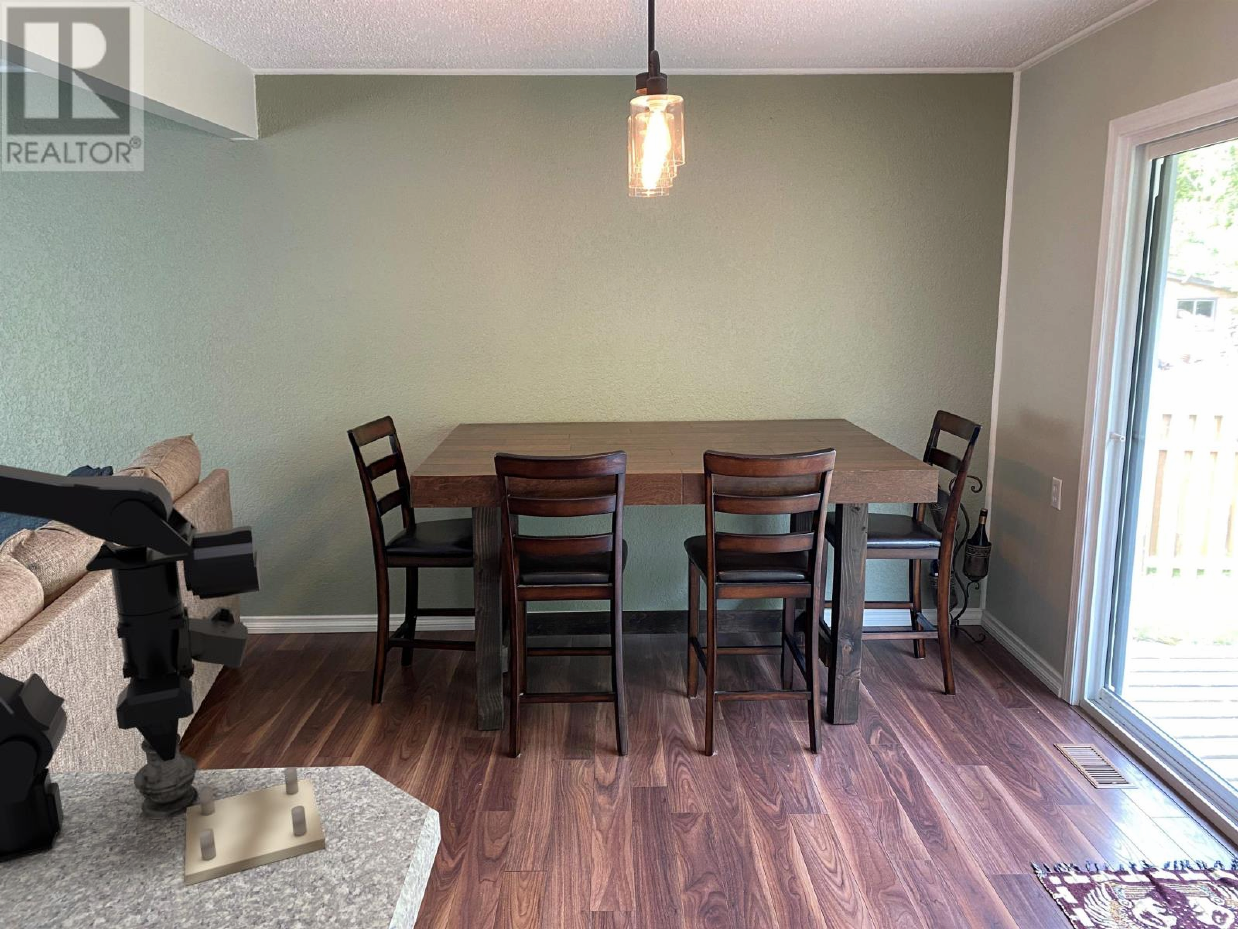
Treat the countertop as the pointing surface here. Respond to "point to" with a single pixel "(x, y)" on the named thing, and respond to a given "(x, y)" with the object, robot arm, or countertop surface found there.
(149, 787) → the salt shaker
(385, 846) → the countertop surface
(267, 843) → the pin board
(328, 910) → the countertop surface
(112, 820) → the countertop surface
